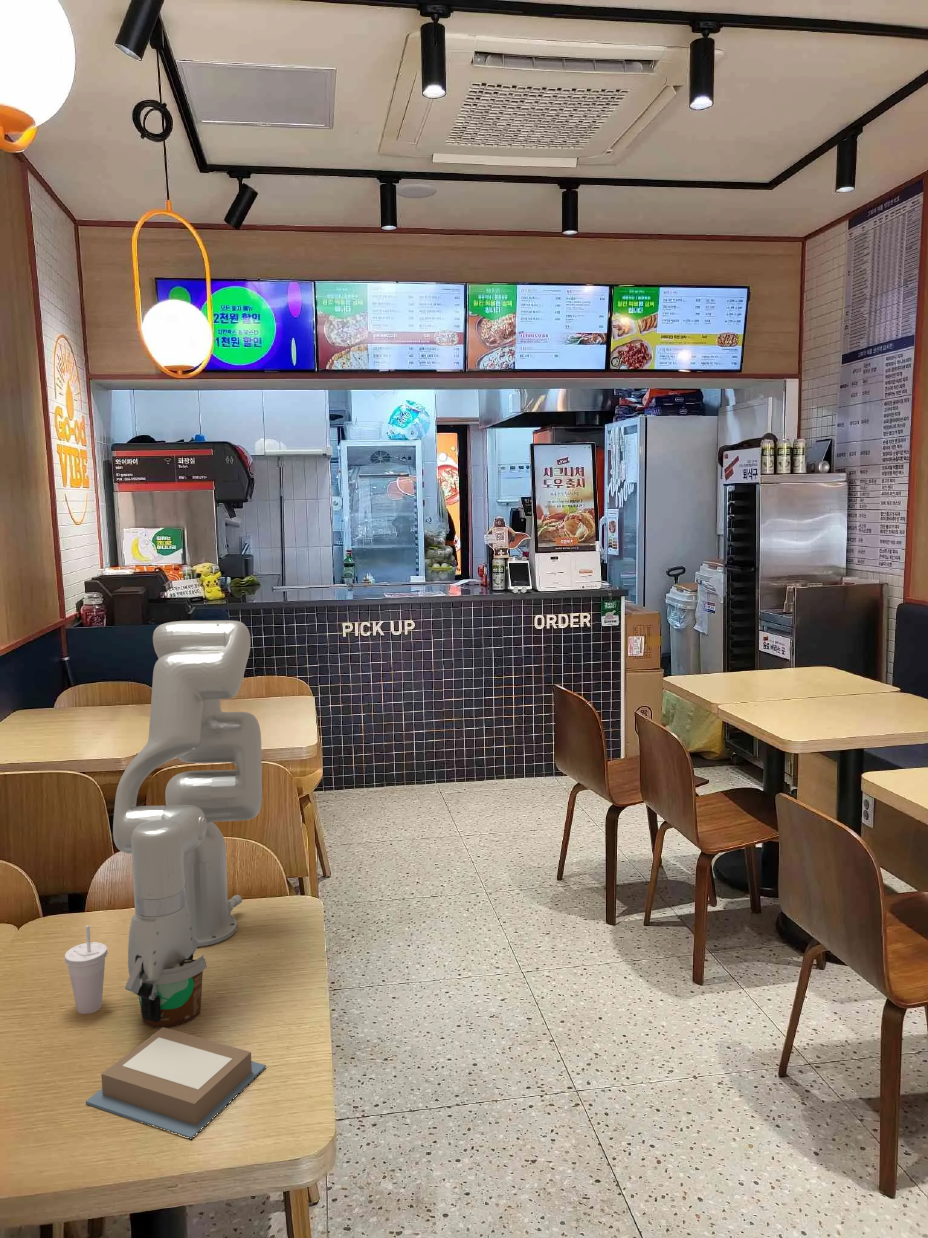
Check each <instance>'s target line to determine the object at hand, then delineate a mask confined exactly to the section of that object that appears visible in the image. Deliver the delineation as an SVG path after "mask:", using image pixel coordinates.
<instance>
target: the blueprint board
mask: <svg viewBox="0 0 928 1238" xmlns="http://www.w3.org/2000/svg"><path fill="white" fill-rule="evenodd" d="M265 1067H266V1068H267V1065H266V1064H263V1063H259V1062H256V1061H252V1051H249V1050H245V1049H242V1048H237V1047H235V1046H231V1045H227V1044H224V1043H220V1042H217V1041H213V1040H210V1039H206V1038H202V1037H198V1036H195V1035H192V1034H189V1033H185V1032H182V1031H179V1030H175V1029H171V1028H164V1027H162V1028H159V1030H157V1031H156V1032H155V1033H153V1034H152V1035H150V1036H149V1037H148V1038H147V1039H145V1040H144V1041H142V1042H141V1043H140V1044H139V1045H137V1046H136V1047H135V1048H133V1049H132V1050H131V1051H129V1052H128V1053H127V1054H126V1055H124V1056H123V1057H121V1058H120V1059H119V1060H118V1061H116V1062H115V1063H114V1064H112V1065H111V1066H110V1067H109V1068H107V1069H106V1070H105V1071H103V1072H102V1073H101V1075H100V1076H101V1089H99V1090H98V1091H97V1092H96V1093H94V1094H93V1095H92V1096H90V1097H89V1098H88V1099H87V1100H85V1104H86V1105H88V1106H91V1107H93V1108H97V1109H100V1110H103V1111H105V1112H108V1113H112V1114H114V1115H117V1116H121V1117H123V1118H126V1119H127V1120H128V1119H129V1120H131V1119H132V1121H134V1120H135V1122H137V1121H138V1123H140V1122H143V1123H144V1125H146V1124H149V1125H151V1126H150V1127H152V1125H154V1126H155V1127H158V1128H162V1129H165V1130H169V1131H170V1132H173V1133H177V1134H180V1135H182V1136H185V1137H189V1138H191V1139H192V1138H193V1136H195V1135H196V1133H198V1132H199V1131H200V1130H201V1128H202V1127H204V1126H205V1125H207V1123H208V1122H209V1121H211V1119H212V1118H214V1116H215V1115H217V1113H219V1112H220V1111H221V1110H222V1109H223V1108H224V1107H225V1106H226V1107H228V1105H229V1104H230V1103H231V1102H232V1101H233V1100H234V1099H235V1098H236V1097H237V1096H239V1094H238V1093H240V1092H241V1091H242V1090H243V1089H244V1088H245V1087H246V1086H247V1087H248V1086H249V1085H250V1084H251V1083H252V1082H253V1081H254V1080H255V1079H256V1078H257V1077H258V1076H259V1075H260V1074H261V1073H262V1072H263V1071H264V1070H266V1068H265ZM263 1069H264V1070H263ZM262 1070H263V1071H262ZM260 1072H261V1073H260ZM259 1073H260V1074H259ZM257 1075H258V1076H257ZM256 1076H257V1077H256ZM254 1078H255V1079H254ZM252 1080H253V1081H252ZM251 1081H252V1082H251ZM250 1082H251V1083H250ZM248 1084H249V1085H248ZM247 1087H246V1088H247ZM246 1088H245V1089H246ZM243 1091H244V1090H243ZM241 1093H242V1092H241ZM241 1093H240V1094H241ZM236 1095H237V1096H236ZM235 1096H236V1097H235ZM233 1098H234V1099H233ZM232 1099H233V1100H232ZM230 1101H231V1102H230ZM229 1102H230V1103H229ZM227 1104H228V1105H227ZM226 1107H225V1108H226ZM225 1108H224V1109H225ZM224 1109H223V1110H224ZM223 1110H222V1111H223ZM222 1111H221V1112H222ZM221 1112H220V1113H221ZM220 1113H219V1114H220ZM217 1116H218V1115H217ZM214 1119H215V1118H214ZM211 1122H212V1121H211ZM143 1123H142V1124H143ZM149 1125H148V1126H149ZM207 1126H208V1125H207ZM155 1127H154V1128H155ZM158 1128H157V1129H158ZM204 1128H205V1127H204ZM201 1131H202V1130H201ZM201 1131H200V1132H201ZM200 1132H199V1133H200ZM199 1133H198V1134H199ZM196 1136H197V1135H196ZM196 1136H195V1137H196ZM193 1139H194V1138H193ZM193 1139H192V1140H193Z"/></svg>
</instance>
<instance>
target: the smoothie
mask: <svg viewBox="0 0 928 1238" xmlns="http://www.w3.org/2000/svg"><path fill="white" fill-rule="evenodd" d="M90 930H91V929H90V925H85V938H86V942H84V943H81V944H78V945H75V946H73V947H71V948H70V949H68V950H67V951H66V952H65V954H64V963H65V965H67V969H68V973H69V978H70V983H71V988H72V992H73V997H74V1002H75V1006H76V1012H77V1013H78V1014H81V1015H87V1014H93V1013H95V1012H97V1011H99V1010H100V1009H101V1008H102V1006H103V1003H102V1002H103V992H104V991H103V990H104V979H105V969H106V968H105V966H106V957H107V956H108V946H107V945H106V944H105V943H101V942H95V941H92V942H91V931H90Z"/></svg>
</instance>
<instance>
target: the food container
mask: <svg viewBox="0 0 928 1238" xmlns="http://www.w3.org/2000/svg"><path fill="white" fill-rule="evenodd" d="M207 967H208V966H207V960H206V958H205V956H204V954H202V955H200V956H199V957H198V958H197V959H193V960H192V959H184V960H183V961H182V962H180V963H179V964H178V965H176V966H175V967H173V968H171V969H163V972H162V974H161V977H160V978H159V979H158V980H156V981H155V984H158V990H157V995H156V996H158V997H159V998H160V1011H161V1020H160V1021H158V1022H154V1021H150V1020H147V1019H144V1018H143V1017H142V1016H141V1018H142V1019H141V1020H142V1022H143V1023H144V1024H146V1025H147V1026H148V1027H150V1028H151V1027H152V1028H153V1029H154V1028H155V1029H161V1028H162V1027H164V1028H168V1029H171V1028H176V1027H180V1026H182V1025H185V1024H188V1023H189V1022H192V1021H193V1020H194V1019H196V1018H197V1017H198V1016H199V1015H200V1014H201V1010H202V1009H201V1008H202V990H203V989H202V988H203V976H204V975H203V974H204V970H205V969H206V968H207ZM141 979H142V982H143V983H146V988H148V989H150V985H151V982H149V981H146V980H147V979H148V975H146V974H145V971H144V973H143V975H142V977H141ZM138 999H139V1006H140V1007H139V1008H140V1013H141V1015H142V1003H141V997H139V996H138Z"/></svg>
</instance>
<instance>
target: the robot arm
mask: <svg viewBox="0 0 928 1238" xmlns="http://www.w3.org/2000/svg"><path fill="white" fill-rule="evenodd" d="M152 644H153V648H154V652H155V654H156V656H157V658H158V659H157V660H156V661H155V664H154V667H153V670H152V671H153V672H152V686H151V698H150V700H151V701H150V713H149V726H148V727H149V728H148V739H147V741H146V743H145V745H144V747H143V748H142V749H141V750H140V751H139V752H138V753H137V754H136V755H135V756H134V758H132V760H131V761H130V762H129V764H128V765H127V766H126V768H125V770H124V771H123V774H122V776H121V777H120V780H119V782H118V785H117V788H116V793H115V797H114V799H115V801H114V810H113V819H112V821H113V824H112V836H113V841H114V844H115V846H116V848H117V849H118V850H119V851H120V852H122V853H125V854H131V860H132V861H131V862H132V863H131V864H132V878H133V879H132V881H133V896H134V898H133V900H134V915H132V916H131V920H130V925H129V931H128V932H129V933H128V946H127V947H128V948H127V965H128V975H129V976H128V979H127V981H126V984H125V986H124V989H125V990H127V991H129V992H131V993H133V994H134V995H137V997H138V998H139V997H141V1003H142V1014H141V1018H142V1017H143V1018H144V1019H147V1020H150V1021H154V1022H158V1021H160V1020H161V1011H160V998H159V997H158V996H156V995H157V990H158V984H155V981H156V980H158V979H159V978H160V977H161V974H162V972H163V969H171V968H173V967H175V966H176V965H178V964H179V963H180V962H182V961H183V960H184V959H192V960H194V955H195V953H196V951H197V950H198V949H197V948H198V947H206V946H211V945H215V944H218V943H220V942H223V941H226V940H227V939H229V938H231V937H232V936H233V935H234V934H235V933H236V931H237V929H238V922H237V919H236V918H235V917H234V916H233V915H232V911H233V910H234V908H235V907H237V906H239V905H241V903H242V902H243V898H242V896H241V895H239V894H235V895H233V896H232V897H231V898H229V897H228V878H227V877H228V876H227V875H228V873H227V872H228V871H227V854H226V853H227V851H226V849H227V848H226V841H225V837H224V835H223V834H222V833H223V832H221V830H220V829H219V827H218V826H217V824H215V822H241V821H249V820H253V819H254V818H256V817H257V816H258V815H259V814H260V811H261V808H262V803H263V802H262V801H263V778H262V777H263V771H262V769H263V768H262V767H263V766H262V765H263V764H262V763H263V762H262V761H263V760H262V759H263V758H262V757H263V756H262V755H263V754H262V732H261V727H260V723H259V721H258V718H257V717H256V716H255V715H253V714H252V713H251V712H246V711H245V712H244V711H228V712H227V711H222V708H221V700H224V699H225V700H228V699H232V698H234V697H235V696H237V694H238V693H239V691H240V688H241V685H242V683H243V679H244V675H245V671H246V668H247V663H248V659H249V656H250V654H251V653H250V651H251V634H250V631H249V628H248V626H246V624H245V623H243V622H242V621H239V620H226V619H225V620H179V621H170V622H165V623H163V624H160V625H158V626H157V627H156V628H155V629H154V631H153V634H152ZM175 759H178V760H179V761H181V762H184V763H186V764H221V763H232V764H234V765H235V767H236V769H221V770H220V769H219V770H217V769H206V770H205V769H204V770H200V769H199V770H188V771H183V772H180V773H177V774H176V775H173V776H172V777H171V778H170V779H169V780H168V782H167V784H166V786H165V790H164V791H165V792H164V795H165V797H164V799H165V805H140V806H139V805H138V806H137V801H138V800H137V799H138V794H139V790H140V788H141V785H142V784H143V783H144V781H145V779H146V778H147V777H148V776H149V775H150V774H151V773H152V772H154V771H155V770H156V769H157V768H159V767H160V766H163V765H164V764H166V763H168V762H170V761H173V760H175ZM228 898H229V899H228ZM144 971H145V974H146V975H148V979H147V980H146V981H149V982H151V985H150V989H148V988H146V983H143V982H142V979H141V977H142V975H143V973H144Z"/></svg>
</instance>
